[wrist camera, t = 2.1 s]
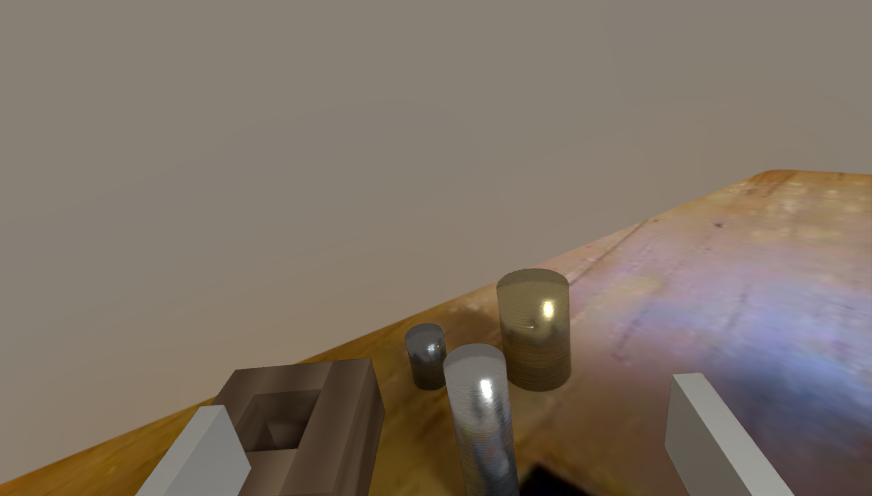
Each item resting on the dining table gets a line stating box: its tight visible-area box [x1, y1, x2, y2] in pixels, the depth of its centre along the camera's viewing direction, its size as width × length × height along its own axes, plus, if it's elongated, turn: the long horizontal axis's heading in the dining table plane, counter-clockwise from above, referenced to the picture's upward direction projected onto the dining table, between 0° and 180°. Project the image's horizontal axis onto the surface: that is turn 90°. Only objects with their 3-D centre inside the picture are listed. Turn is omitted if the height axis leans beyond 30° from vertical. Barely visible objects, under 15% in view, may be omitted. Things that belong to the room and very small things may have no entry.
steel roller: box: [443, 343, 519, 496], centre depth 27 cm, size 4×4×12 cm
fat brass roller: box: [497, 268, 571, 392], centre depth 39 cm, size 6×6×9 cm
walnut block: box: [210, 358, 385, 496], centre depth 32 cm, size 12×12×6 cm
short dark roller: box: [405, 323, 447, 390], centre depth 40 cm, size 4×4×5 cm
